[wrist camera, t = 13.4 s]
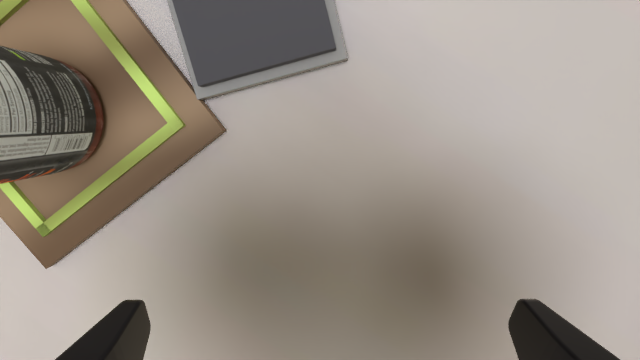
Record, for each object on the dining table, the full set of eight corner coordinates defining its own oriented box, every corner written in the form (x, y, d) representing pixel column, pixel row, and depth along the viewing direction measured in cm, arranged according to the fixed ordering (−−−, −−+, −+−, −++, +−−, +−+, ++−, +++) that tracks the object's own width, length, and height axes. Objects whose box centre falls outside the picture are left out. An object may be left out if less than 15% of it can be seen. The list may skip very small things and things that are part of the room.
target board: (226, 130, 20) (221, 130, 20) (53, 264, 22) (42, 270, 21) (65, -79, 19) (52, -88, 18) (-108, 80, 21) (-128, 79, 20)
